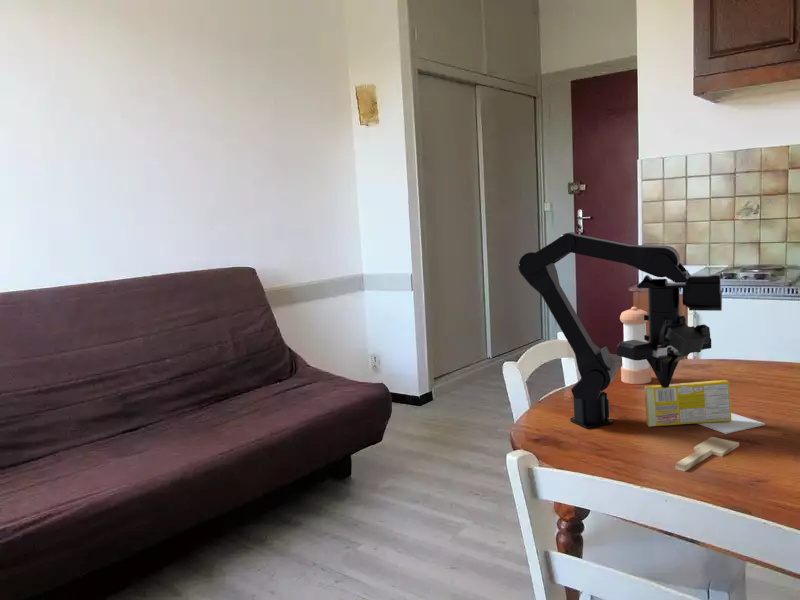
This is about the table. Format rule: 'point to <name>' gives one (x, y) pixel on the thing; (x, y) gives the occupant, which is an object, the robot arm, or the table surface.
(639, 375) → the pepper shaker
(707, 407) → the candy box
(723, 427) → the felt mat
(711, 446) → the wooden turner
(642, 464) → the table surface
